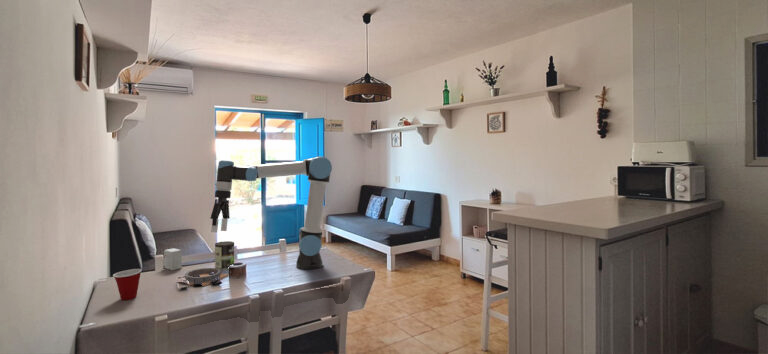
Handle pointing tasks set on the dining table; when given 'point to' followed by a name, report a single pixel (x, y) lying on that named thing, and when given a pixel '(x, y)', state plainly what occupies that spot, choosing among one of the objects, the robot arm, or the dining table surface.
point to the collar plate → (204, 275)
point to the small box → (173, 259)
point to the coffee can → (224, 255)
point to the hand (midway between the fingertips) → (219, 231)
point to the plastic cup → (128, 283)
